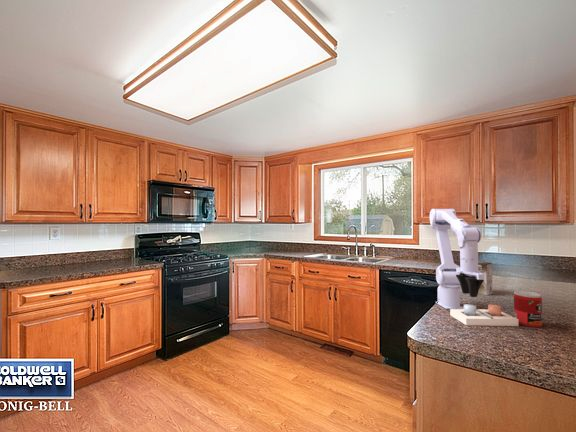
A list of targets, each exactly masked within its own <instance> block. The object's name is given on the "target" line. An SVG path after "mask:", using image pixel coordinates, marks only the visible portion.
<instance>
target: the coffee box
mask: <svg viewBox="0 0 576 432" xmlns="http://www.w3.org/2000/svg"><path fill="white" fill-rule="evenodd" d="M478 271H479V272H480V273H482V274H484V282H483V283H482V284H481V286H480V288H479V291H478V295H484V296H489V295H492V294H493V262H487V261H481V260H478Z"/></svg>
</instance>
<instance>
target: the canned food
mask: <svg viewBox="0 0 576 432" xmlns="http://www.w3.org/2000/svg"><path fill="white" fill-rule="evenodd" d="M513 317H515V318H517V319H518V324H519V325H522V326H525V327H531V328H540V327H542V325H543V298H542V294H540V293H537V292H534V291H529V290H528V291H526V290H515V291H513Z"/></svg>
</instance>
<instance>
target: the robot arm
mask: <svg viewBox="0 0 576 432" xmlns="http://www.w3.org/2000/svg"><path fill="white" fill-rule="evenodd" d="M429 223H430V227H431V228H432V229H433V230H434V232H435V236H436V240H437V241H436V242H437V246H438V251H439V252H438V253H439V257H440V263H441V264H440V265H439V266H437V267H436V270H435V280H436V282H437V284H438V287H437V290H436V291H437V301H435V304H437V305H439V306H440V307H442V308H444V309H446V310H450V309H464V306H462V305H461V291H462V294H464V295H465V294H466V295H467V294H468V295H469V297H471V298H477V297H478V295H479V294H478V291H479V288H480V286H481V284H482V283H483V282H484V274H482V273H480V272H479V271H478V261H479V249H478V248H479V245H478V243H480V241H481V239H482V232H481V230H480V229H479V227H477V226H473V227H472V226H471V225H470V224H469V223H467V222H466V221H465V219H464V218H458V217H457V212H456V210H455V208H431V210H430V211H429ZM449 229H451V230H452V231H453V233H455V234H456V240H457V243H458V247H459V259H460V260H459V263H460V265H458V264H456V263H455V261H454V257H453V251H452V246H451V243H450V242H451V241H450V237H449V231H448V230H449ZM460 290H461V291H460ZM438 301H439V302H438ZM437 302H438V303H437Z"/></svg>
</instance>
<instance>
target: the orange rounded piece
mask: <svg viewBox="0 0 576 432" xmlns="http://www.w3.org/2000/svg"><path fill="white" fill-rule="evenodd" d="M487 309H488V314H489V315H491V316H501V312H502V305H497V304H490V303H489V304H487Z"/></svg>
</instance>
